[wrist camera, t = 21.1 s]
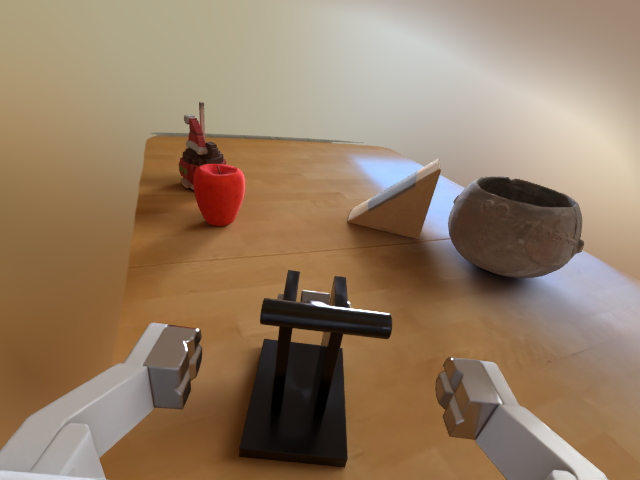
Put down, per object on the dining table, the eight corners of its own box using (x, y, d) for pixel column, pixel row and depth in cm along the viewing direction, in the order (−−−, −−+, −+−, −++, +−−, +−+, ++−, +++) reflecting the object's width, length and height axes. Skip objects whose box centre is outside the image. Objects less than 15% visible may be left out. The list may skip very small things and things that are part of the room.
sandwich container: (353, 207, 78) (366, 143, 70) (418, 222, 75) (439, 157, 68) (345, 221, 70) (359, 151, 63) (418, 239, 68) (441, 168, 60)
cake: (234, 190, 76) (235, 108, 68) (195, 197, 70) (191, 107, 62) (211, 175, 83) (210, 98, 74) (174, 180, 77) (167, 97, 68)
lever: (390, 354, 15) (394, 301, 15) (257, 339, 15) (265, 284, 15) (345, 323, 29) (348, 296, 29) (276, 315, 28) (280, 287, 29)
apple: (239, 210, 68) (241, 158, 63) (247, 230, 61) (250, 174, 56) (193, 211, 65) (190, 157, 59) (196, 233, 58) (193, 174, 53)
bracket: (344, 467, 28) (382, 355, 22) (239, 456, 28) (243, 338, 21) (340, 355, 39) (364, 256, 32) (263, 346, 38) (271, 244, 32)
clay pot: (464, 292, 53) (502, 208, 46) (423, 231, 72) (446, 163, 64) (582, 303, 56) (636, 224, 48) (514, 241, 74) (545, 176, 66)
